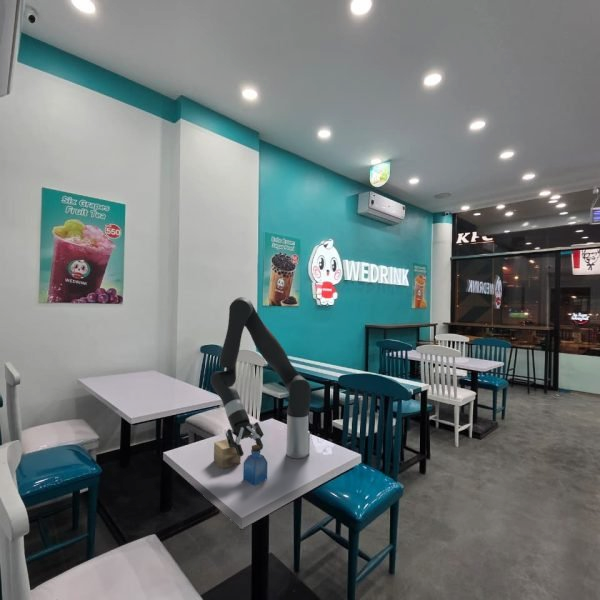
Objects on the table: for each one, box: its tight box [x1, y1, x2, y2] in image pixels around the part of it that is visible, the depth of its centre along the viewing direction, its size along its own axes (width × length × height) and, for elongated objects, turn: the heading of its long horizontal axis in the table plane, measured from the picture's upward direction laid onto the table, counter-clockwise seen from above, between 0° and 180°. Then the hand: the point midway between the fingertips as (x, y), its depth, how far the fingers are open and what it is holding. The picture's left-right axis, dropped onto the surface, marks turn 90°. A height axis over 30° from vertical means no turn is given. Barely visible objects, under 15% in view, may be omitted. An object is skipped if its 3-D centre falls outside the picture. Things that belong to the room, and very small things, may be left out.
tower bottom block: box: [213, 452, 242, 470], centre depth 137 cm, size 8×8×4 cm
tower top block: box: [213, 438, 242, 460], centre depth 137 cm, size 8×8×4 cm
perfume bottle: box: [242, 444, 268, 486], centre depth 124 cm, size 6×6×12 cm
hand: (251, 452), depth 126 cm, fingers open, 8 cm apart
